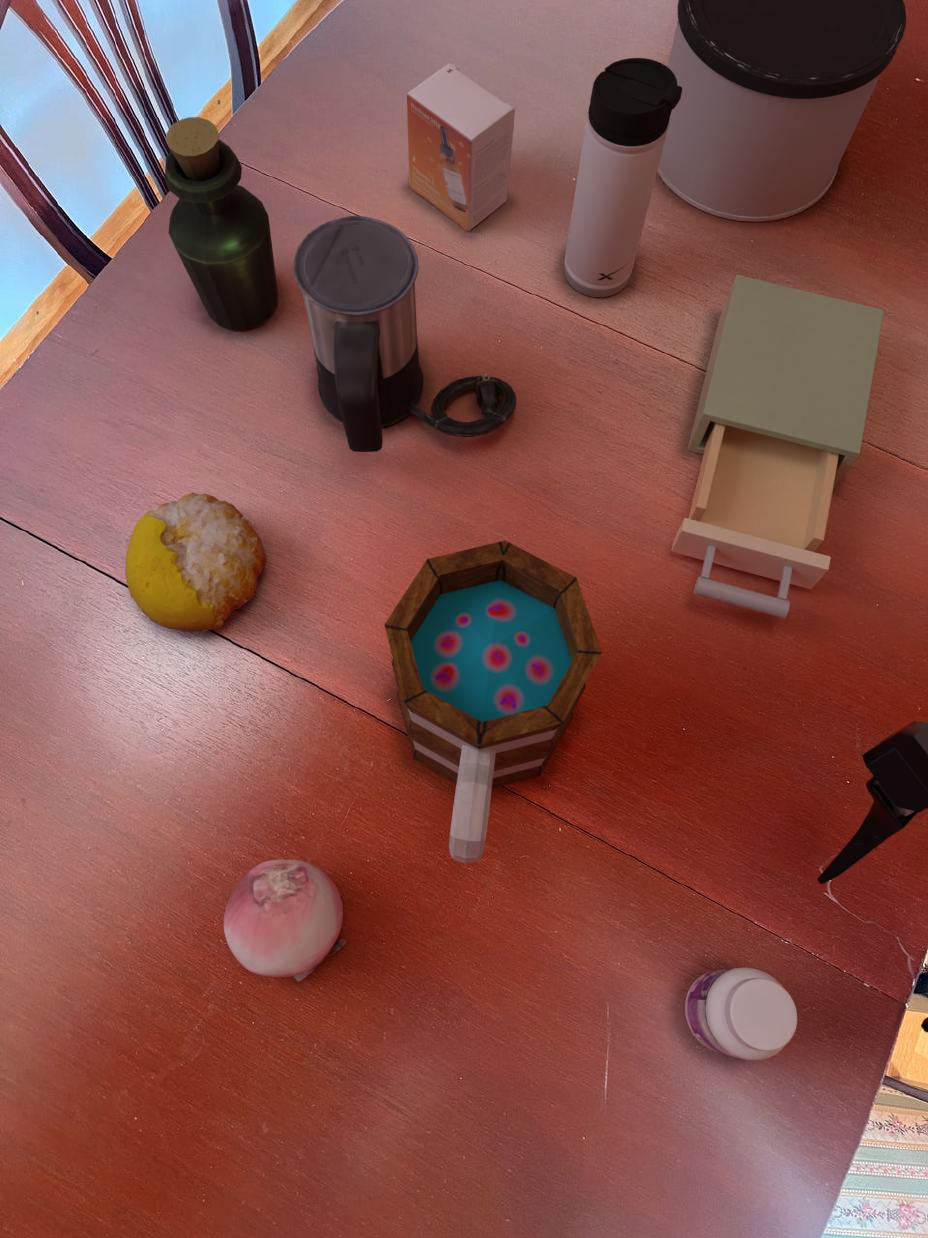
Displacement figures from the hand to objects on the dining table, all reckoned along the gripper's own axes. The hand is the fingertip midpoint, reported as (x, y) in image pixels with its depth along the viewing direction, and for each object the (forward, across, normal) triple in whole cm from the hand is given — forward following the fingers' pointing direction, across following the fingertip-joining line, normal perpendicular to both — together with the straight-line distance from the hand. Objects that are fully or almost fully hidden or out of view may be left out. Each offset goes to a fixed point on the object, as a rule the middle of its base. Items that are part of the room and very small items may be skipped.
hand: (870, 951), depth 55 cm
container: (-21, -62, +39) cm, 76 cm away
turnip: (+30, -20, -11) cm, 37 cm away
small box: (-2, -71, +20) cm, 74 cm away
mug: (+17, -24, +1) cm, 30 cm away
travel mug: (-6, -57, +24) cm, 62 cm away
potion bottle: (+15, -70, +3) cm, 72 cm away
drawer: (-4, -29, +21) cm, 36 cm away
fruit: (+25, -47, -7) cm, 54 cm away
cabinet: (-10, -38, +28) cm, 48 cm away
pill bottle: (+14, 0, +4) cm, 14 cm away
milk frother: (+9, -54, +9) cm, 55 cm away
